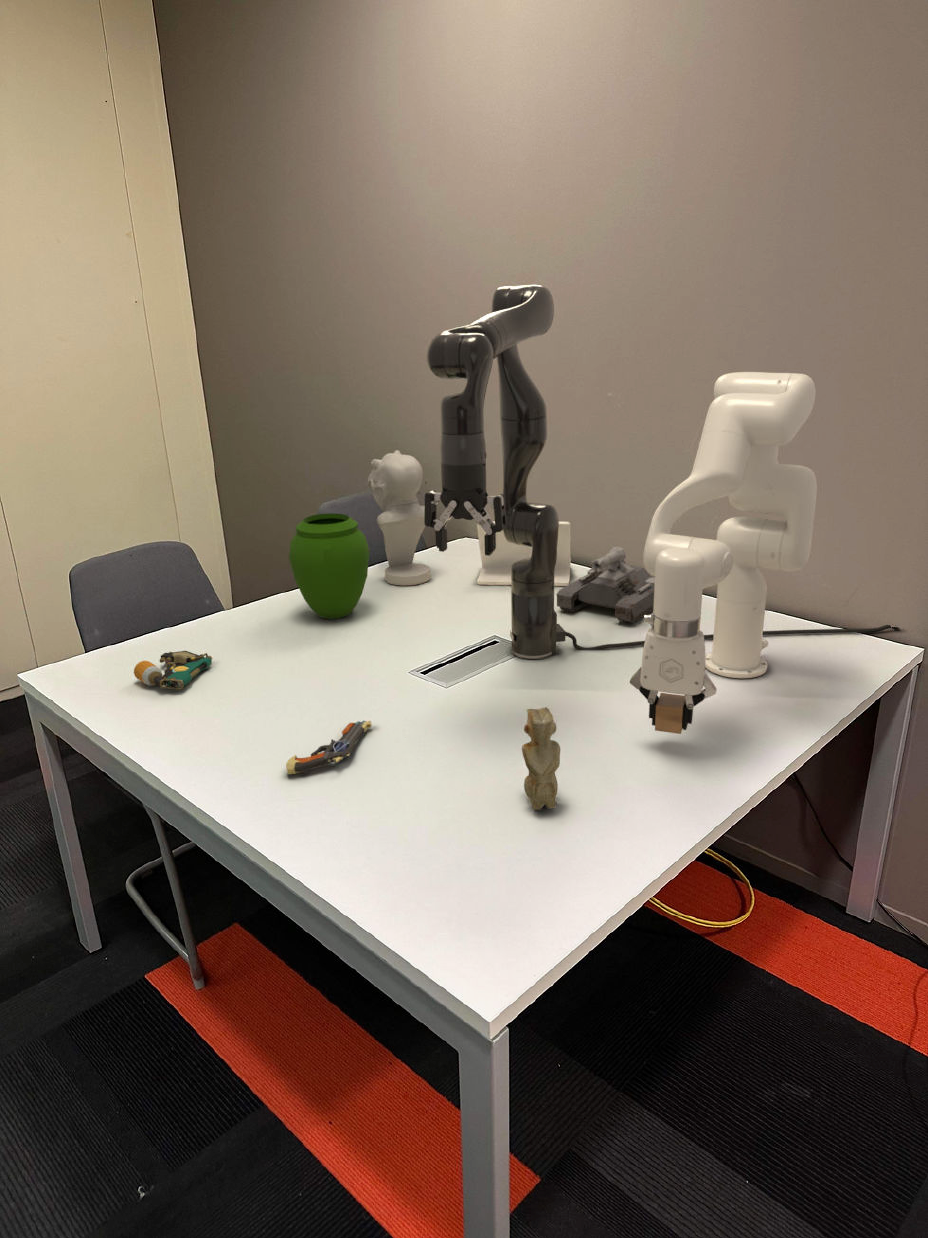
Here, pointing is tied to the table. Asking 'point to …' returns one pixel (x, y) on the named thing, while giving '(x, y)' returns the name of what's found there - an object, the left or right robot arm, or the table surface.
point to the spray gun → (172, 669)
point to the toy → (611, 588)
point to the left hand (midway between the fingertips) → (465, 552)
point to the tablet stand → (520, 558)
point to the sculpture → (541, 759)
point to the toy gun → (330, 749)
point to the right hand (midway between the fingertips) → (670, 723)
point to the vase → (329, 563)
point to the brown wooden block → (669, 713)
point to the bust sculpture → (400, 515)
